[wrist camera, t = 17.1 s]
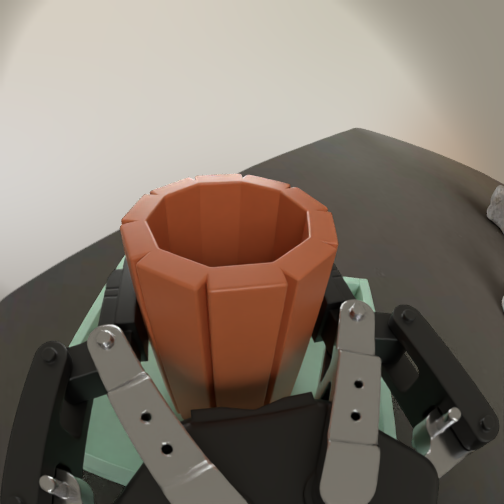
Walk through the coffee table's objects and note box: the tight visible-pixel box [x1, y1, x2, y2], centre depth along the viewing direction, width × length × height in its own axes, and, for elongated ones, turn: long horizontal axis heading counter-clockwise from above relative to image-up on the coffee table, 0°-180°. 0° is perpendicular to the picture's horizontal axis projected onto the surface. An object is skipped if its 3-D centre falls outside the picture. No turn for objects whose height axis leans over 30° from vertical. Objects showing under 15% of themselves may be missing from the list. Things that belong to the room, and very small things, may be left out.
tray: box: [69, 255, 397, 486], centre depth 14 cm, size 15×13×3 cm
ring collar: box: [120, 174, 338, 420], centre depth 11 cm, size 6×6×9 cm
